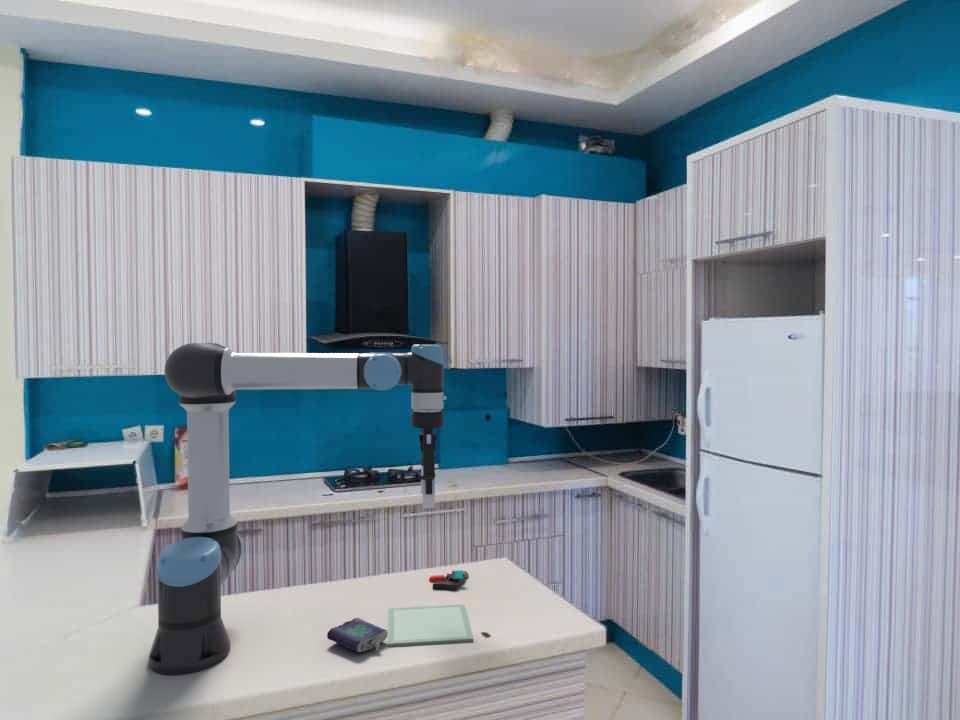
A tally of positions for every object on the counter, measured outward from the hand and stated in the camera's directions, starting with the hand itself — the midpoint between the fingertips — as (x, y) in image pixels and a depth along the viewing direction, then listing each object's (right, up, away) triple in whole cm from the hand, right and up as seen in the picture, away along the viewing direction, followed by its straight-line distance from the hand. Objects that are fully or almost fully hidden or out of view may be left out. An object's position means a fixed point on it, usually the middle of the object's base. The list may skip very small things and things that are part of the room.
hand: (427, 500), depth 148 cm
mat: (+1, -27, -6) cm, 28 cm away
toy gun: (+4, -27, +20) cm, 34 cm away
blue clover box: (-17, -28, -13) cm, 35 cm away
